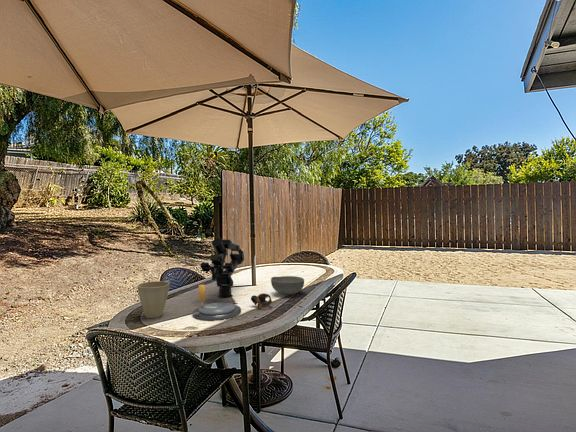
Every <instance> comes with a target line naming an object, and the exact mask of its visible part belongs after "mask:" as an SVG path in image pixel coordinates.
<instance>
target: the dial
mask: <svg viewBox="0 0 576 432" xmlns="http://www.w3.org/2000/svg"><path fill="white" fill-rule="evenodd" d="M205 301H206V284H198V302H200V305H201V306H199V307H200V308H199V313H200V314H203V315H210V316H215V315H224V314H228V313H231V312H233V311H234V310H235V306H234V305H235V304H234V303H229V302H212V303H207V304H205V305H204V302H205Z"/></svg>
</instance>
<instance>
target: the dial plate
mask: <svg viewBox="0 0 576 432" xmlns="http://www.w3.org/2000/svg"><path fill="white" fill-rule="evenodd" d="M233 305H234V306H235V310H234V311H233V312H231V313H228V314H224V315H215V316H210V315H203V314H200V313H199V308H200V307H201V306H198V307H196V308H195V309H193V310H192V317H193V318H194V319H196V320H198V319H199V321H203V322H204V321H205V322H206V321H207V322H215V321H214V320H219V321H225V320H224V319H226V320H230V319H233V317H234V318H236V317H238V316H239V315H241V313H242V308H241V307H240V306H239V305H236V304H233ZM229 318H230V319H229Z"/></svg>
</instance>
